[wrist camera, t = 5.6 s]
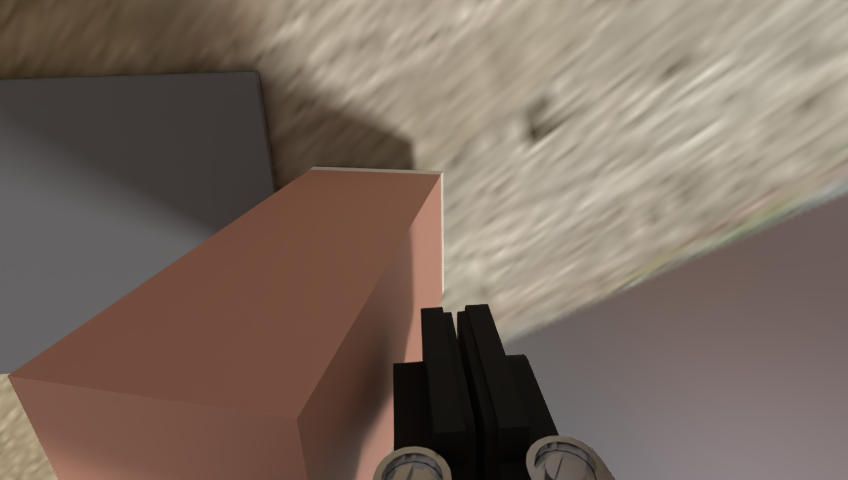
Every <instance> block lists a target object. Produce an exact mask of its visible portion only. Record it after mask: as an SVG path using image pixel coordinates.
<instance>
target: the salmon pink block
mask: <svg viewBox="0 0 848 480" xmlns="http://www.w3.org/2000/svg"><path fill="white" fill-rule="evenodd" d="M443 292H444V244H443V171H421V170H394V169H367V168H340V167H312V168H311V169H309V170H308V171H306V172H305V173H304V174H302V175H301V176H299V177H298V178H296V179H295V180H293V181H292V182H290V183H289V184H287V185H286V186H285V187H283V188H282V189H280V190H279V191H277V192H276V193H274V194H273V195H271V196H270V197H268V198H267V199H266V200H264V201H263V202H261V203H260V204H258V205H257V206H255V207H254V208H252V209H251V210H249V211H248V212H247V213H245V214H244V215H242V216H241V217H239V218H238V219H236V220H235V221H233V222H232V223H230V224H229V225H228V226H226V227H225V228H223V229H222V230H220V231H219V232H217V233H216V234H214V235H213V236H211V237H210V238H209V239H207V240H206V241H204V242H203V243H201V244H200V245H198V246H197V247H195V248H194V249H193V250H191V251H190V252H188V253H187V254H185V255H184V256H182V257H181V258H179V259H178V260H176V261H175V262H174V263H172V264H171V265H169V266H168V267H166V268H165V269H163V270H162V271H160V272H159V273H157V274H156V275H155V276H153V277H152V278H150V279H149V280H147V281H146V282H144V283H143V284H141V285H140V286H138V287H137V288H136V289H134V290H133V291H131V292H130V293H128V294H127V295H125V296H124V297H122V298H121V299H119V300H118V301H117V302H115V303H114V304H112V305H111V306H109V307H108V308H106V309H105V310H103V311H102V312H100V313H99V314H98V315H96V316H95V317H93V318H92V319H90V320H89V321H87V322H86V323H84V324H83V325H81V326H80V327H79V328H77V329H76V330H74V331H73V332H71V333H70V334H68V335H67V336H65V337H64V338H62V339H61V340H60V341H58V342H57V343H55V344H54V345H52V346H51V347H49V348H48V349H46V350H45V351H43V352H42V353H41V354H39V355H38V356H36V357H35V358H33V359H32V360H30V361H29V362H27V363H26V364H24V365H23V366H22V367H20V368H19V369H17V370H16V371H14V372H13V373H11V374H10V375H8V378H9V380H10V382H11V384H12V386H13V388H14V390H15V392H16V394H17V396H18V398H19V400H20V402H21V404H22V406H23V408H24V410H25V412H26V414H27V416H28V418H29V420H30V422H31V424H32V426H33V429H34V431H35V433H36V435H37V437H38V439H39V441H40V443H41V445H42V447H43V449H44V451H45V453H46V455H47V457H48V459H49V461H50V463H51V465H52V467H53V469H54V471H55V473H56V475H57V477H58V479H59V480H373V476H374V473H375V470H376V468H377V466H378V465H379V463H380V462H381V461H382V460H383V458H384V457H386V456H387V455H389V454H390V451H391V449H392V446H393V443H394V409H393V363H405V362H420V361H421V358H422V334H421V308H433V307H439V304H440V301H441V298H442V295H443Z"/></svg>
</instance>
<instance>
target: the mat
mask: <svg viewBox="0 0 848 480" xmlns="http://www.w3.org/2000/svg"><path fill="white" fill-rule="evenodd" d="M276 192H277V186H276V180H275V174H274V167H273V161H272V155H271V149H270V142H269V136H268V130H267V124H266V118H265V111H264V105H263V99H262V93H261V87H260V80H259V74H258V71H247V72H215V73H183V74H152V75H120V76H88V77H56V78H25V79H0V374H7V373H13V372H14V371H16V370H17V369H19V368H20V367H22V366H23V365H24V364H26V363H27V362H29V361H30V360H32V359H33V358H35V357H36V356H38V355H39V354H41V353H42V352H43V351H45V350H46V349H48V348H49V347H51V346H52V345H54V344H55V343H57V342H58V341H60V340H61V339H62V338H64V337H65V336H67V335H68V334H70V333H71V332H73V331H74V330H76V329H77V328H79V327H80V326H81V325H83V324H84V323H86V322H87V321H89V320H90V319H92V318H93V317H95V316H96V315H98V314H99V313H100V312H102V311H103V310H105V309H106V308H108V307H109V306H111V305H112V304H114V303H115V302H117V301H118V300H119V299H121V298H122V297H124V296H125V295H127V294H128V293H130V292H131V291H133V290H134V289H136V288H137V287H138V286H140V285H141V284H143V283H144V282H146V281H147V280H149V279H150V278H152V277H153V276H155V275H156V274H157V273H159V272H160V271H162V270H163V269H165V268H166V267H168V266H169V265H171V264H172V263H174V262H175V261H176V260H178V259H179V258H181V257H182V256H184V255H185V254H187V253H188V252H190V251H191V250H193V249H194V248H195V247H197V246H198V245H200V244H201V243H203V242H204V241H206V240H207V239H209V238H210V237H211V236H213V235H214V234H216V233H217V232H219V231H220V230H222V229H223V228H225V227H226V226H228V225H229V224H230V223H232V222H233V221H235V220H236V219H238V218H239V217H241V216H242V215H244V214H245V213H247V212H248V211H249V210H251V209H252V208H254V207H255V206H257V205H258V204H260V203H261V202H263V201H264V200H266V199H267V198H268V197H270V196H271V195H273V194H274V193H276Z"/></svg>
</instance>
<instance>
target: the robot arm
mask: <svg viewBox="0 0 848 480" xmlns="http://www.w3.org/2000/svg"><path fill="white" fill-rule="evenodd" d="M421 334H422V358H423V361H420V362H405V363H393V409H394V451H393V452H392V453H390V454H389V455H387V456H386V457H384V458H383V460H382V461H381V462H380V463H379V465H378V466H377V468H376V470H375V473H374V476H373V480H615V478H614V477H613V476H612V474H611V472H610V471H609V470H608V468H607V467H606V465H605V463H604V462H603V461H602V459H601V458H600V457H599V456H598V454H597V453H596V452H595V451H594V450H593V449H592V448H591V447H589V446H588V445H586V444H585V443H583V442H581V441H579V440H576V439H574V438H571V437H566V436H560V435H559V434H558V432H557V430H556V427H555V425H554V423H553V420H552V417H551V415H550V412H549V410H548V408H547V405H546V403H545V400H544V398H543V395H542V393H541V391H540V388H539V386H538V383H537V381H536V379H535V376H534V373H533V371H532V369H531V366H530V364H529V361H528V359H527V357H526V356H525V355H524V354H522V355H507V356H506V355H505V352H504V349H503V346H502V343H501V340H500V337H499V335H498V332H497V329H496V326H495V323H494V320H493V317H492V314H491V312H490V309H489V306H488V304H480V305H466V306H465V311H461V312H457V337H456V332H455V327H454V323H453V318H452V313H451V312H445V313H443V308H442V307H433V308H421Z"/></svg>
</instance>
